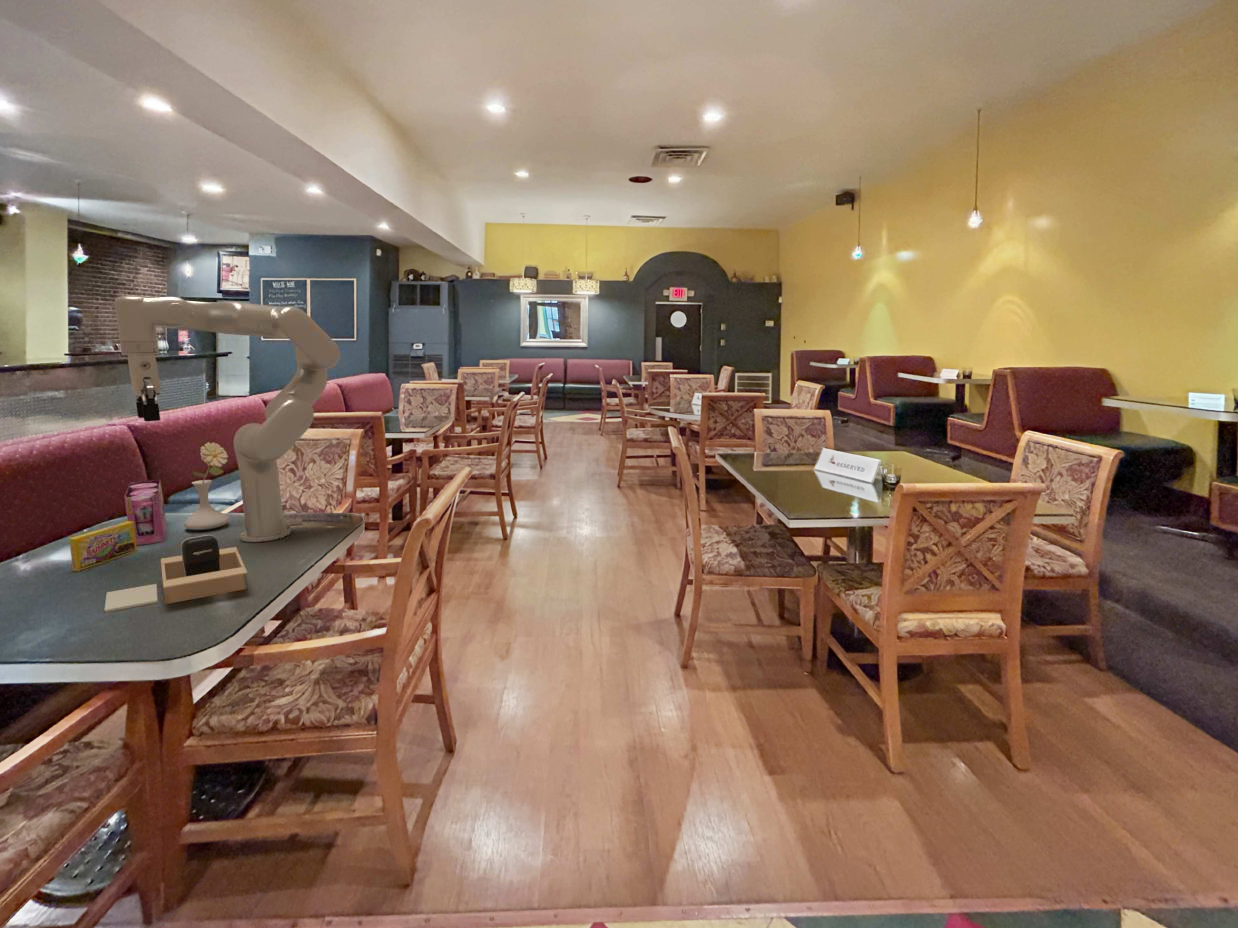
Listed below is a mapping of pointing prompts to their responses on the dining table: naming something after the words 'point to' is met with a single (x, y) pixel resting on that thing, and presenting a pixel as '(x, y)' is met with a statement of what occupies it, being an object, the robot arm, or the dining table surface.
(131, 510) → the gum box
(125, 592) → the mat
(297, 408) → the robot arm
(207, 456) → the flower in vase
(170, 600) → the carton
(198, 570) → the battery charger
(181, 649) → the dining table surface
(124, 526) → the candy box
